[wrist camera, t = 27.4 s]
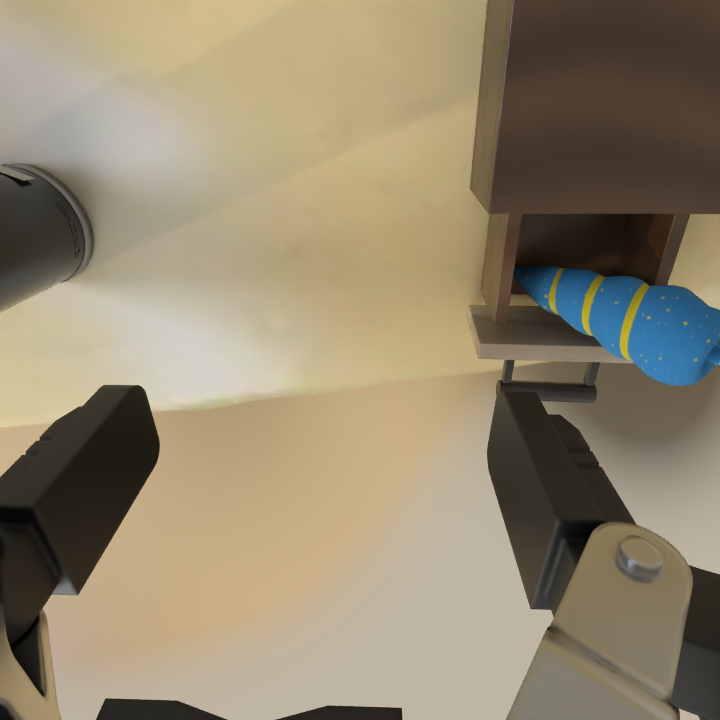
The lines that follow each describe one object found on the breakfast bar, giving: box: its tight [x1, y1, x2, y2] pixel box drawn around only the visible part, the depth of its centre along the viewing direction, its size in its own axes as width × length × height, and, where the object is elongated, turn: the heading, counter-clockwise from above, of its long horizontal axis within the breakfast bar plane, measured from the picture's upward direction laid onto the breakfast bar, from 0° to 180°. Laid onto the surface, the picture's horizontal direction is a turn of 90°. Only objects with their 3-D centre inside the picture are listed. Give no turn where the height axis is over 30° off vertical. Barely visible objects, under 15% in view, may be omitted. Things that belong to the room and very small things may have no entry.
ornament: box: [513, 266, 720, 386], centre depth 28 cm, size 5×5×15 cm
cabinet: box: [470, 0, 720, 214], centre depth 25 cm, size 15×13×9 cm
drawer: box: [467, 214, 690, 403], centre depth 31 cm, size 18×12×7 cm, turn 1°
